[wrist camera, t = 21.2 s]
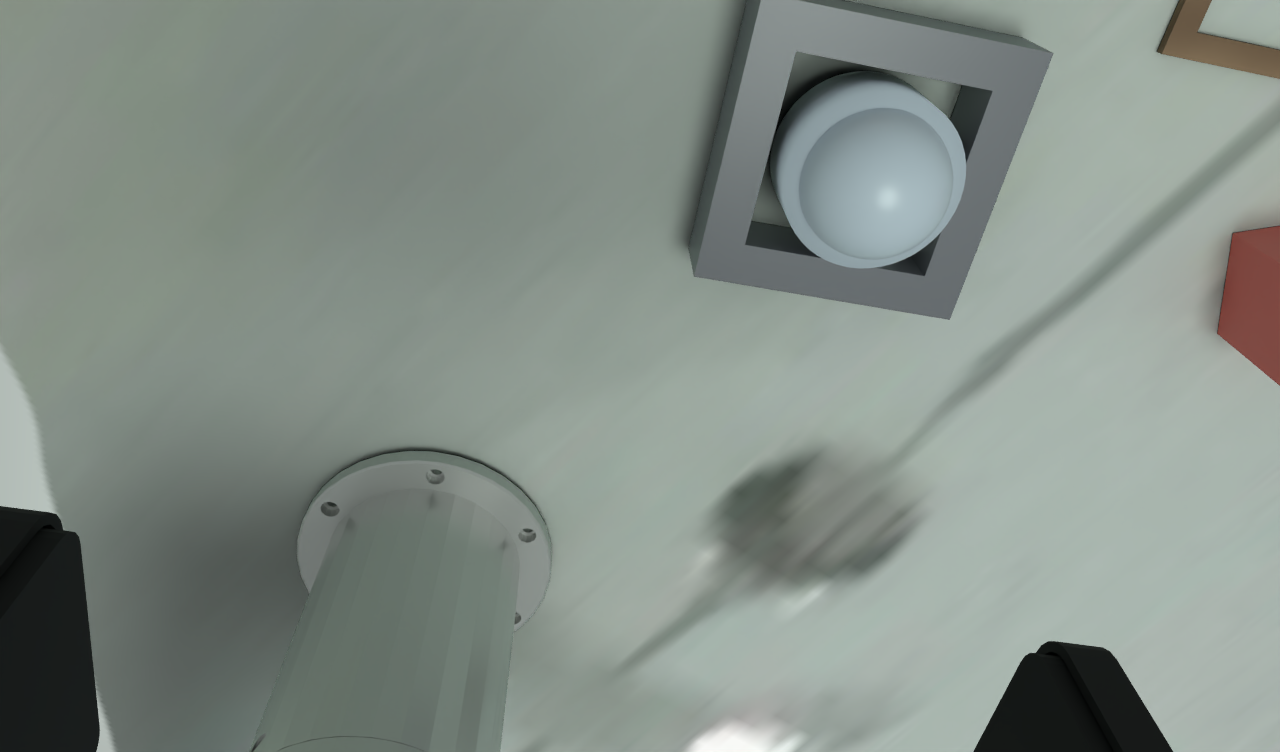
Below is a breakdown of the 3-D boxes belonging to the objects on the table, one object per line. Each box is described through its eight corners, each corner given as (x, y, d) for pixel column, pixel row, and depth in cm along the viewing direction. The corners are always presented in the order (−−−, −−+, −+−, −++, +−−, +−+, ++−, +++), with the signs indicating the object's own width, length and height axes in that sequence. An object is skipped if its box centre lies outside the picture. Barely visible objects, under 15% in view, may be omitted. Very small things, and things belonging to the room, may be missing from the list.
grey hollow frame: (928, 290, 44) (949, 319, 41) (688, 248, 42) (694, 276, 40) (1022, 37, 38) (1053, 53, 36) (751, -20, 37) (762, -7, 34)
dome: (907, 250, 41) (952, 312, 36) (751, 222, 40) (773, 282, 35) (964, 89, 38) (1022, 131, 33) (796, 55, 37) (827, 93, 32)
